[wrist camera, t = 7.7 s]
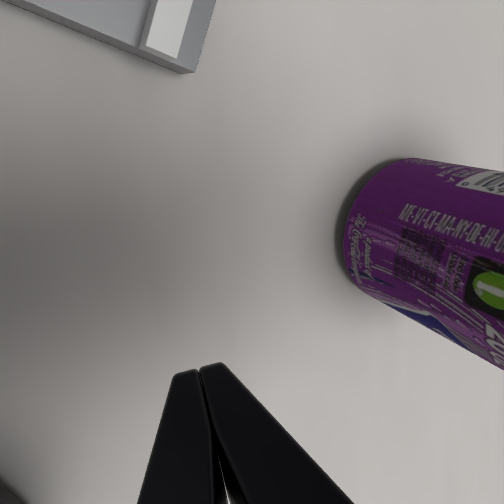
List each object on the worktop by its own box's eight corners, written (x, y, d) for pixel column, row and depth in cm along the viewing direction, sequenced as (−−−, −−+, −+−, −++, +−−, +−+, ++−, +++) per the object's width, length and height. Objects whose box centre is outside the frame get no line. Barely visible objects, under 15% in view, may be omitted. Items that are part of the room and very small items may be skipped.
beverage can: (307, 258, 22) (559, 398, 12) (385, 127, 22) (710, 155, 12) (396, 312, 26) (648, 455, 16) (464, 200, 26) (764, 270, 15)
